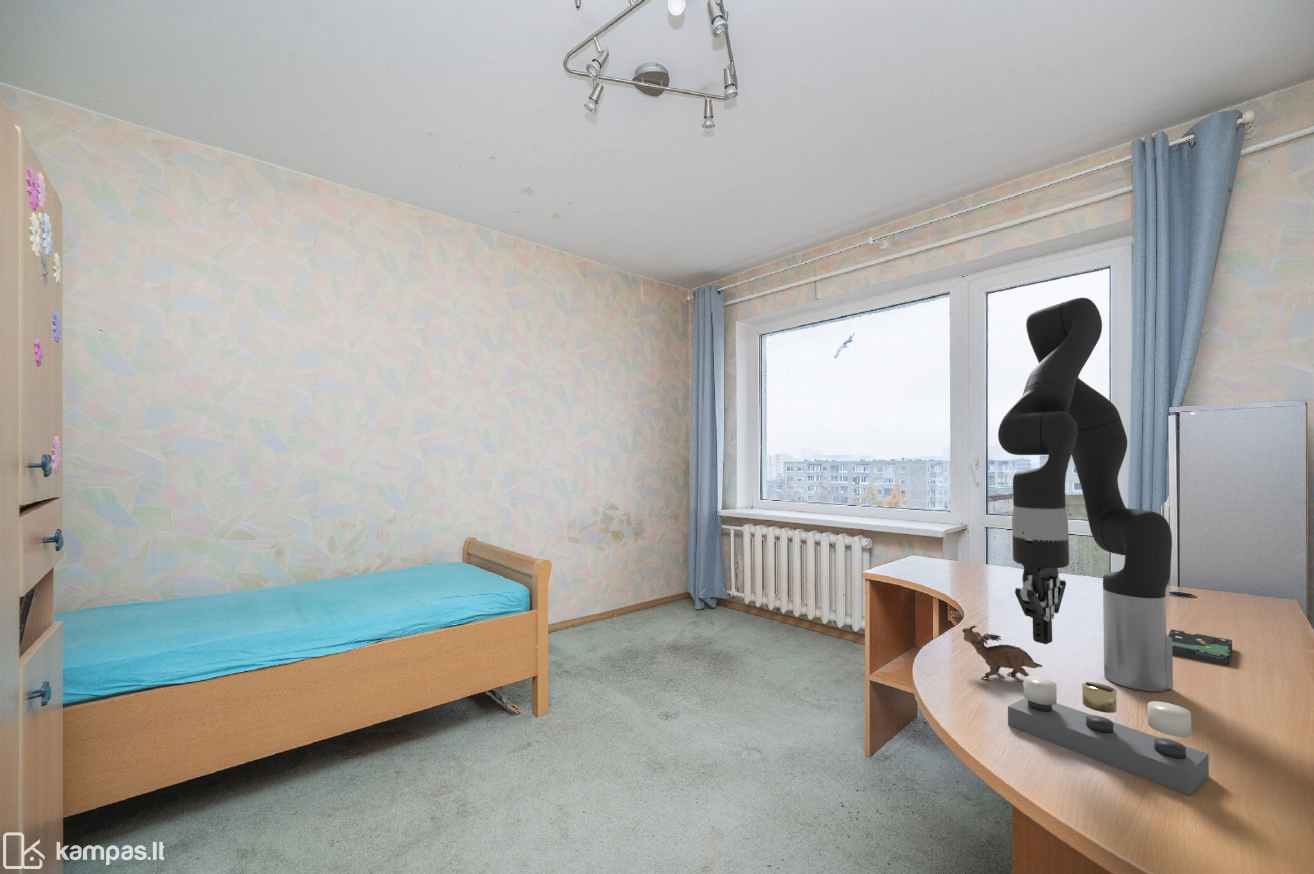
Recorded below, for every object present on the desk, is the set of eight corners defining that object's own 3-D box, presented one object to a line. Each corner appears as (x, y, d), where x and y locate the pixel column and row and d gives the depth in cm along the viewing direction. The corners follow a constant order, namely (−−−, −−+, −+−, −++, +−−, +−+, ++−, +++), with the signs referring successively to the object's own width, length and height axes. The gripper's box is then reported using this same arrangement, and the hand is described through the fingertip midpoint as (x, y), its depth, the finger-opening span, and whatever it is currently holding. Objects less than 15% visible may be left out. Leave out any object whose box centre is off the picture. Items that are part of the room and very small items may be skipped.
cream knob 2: (1195, 731, 76) (1195, 710, 76) (1185, 740, 74) (1185, 719, 74) (1154, 718, 80) (1153, 698, 80) (1143, 726, 78) (1142, 706, 78)
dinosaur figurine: (966, 677, 109) (965, 630, 110) (962, 667, 115) (962, 621, 115) (1049, 689, 104) (1048, 639, 104) (1041, 677, 109) (1040, 630, 110)
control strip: (1208, 776, 76) (1208, 745, 76) (1190, 795, 72) (1189, 762, 72) (1031, 712, 95) (1030, 687, 95) (1008, 724, 90) (1007, 698, 91)
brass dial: (1121, 708, 83) (1120, 687, 83) (1110, 715, 81) (1110, 694, 81) (1088, 698, 86) (1088, 678, 86) (1077, 704, 84) (1077, 684, 84)
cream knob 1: (1061, 700, 90) (1061, 683, 90) (1049, 707, 87) (1048, 689, 87) (1031, 690, 93) (1031, 673, 93) (1018, 696, 91) (1018, 679, 91)
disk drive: (1170, 640, 133) (1164, 655, 123) (1169, 628, 133) (1163, 642, 123) (1232, 652, 125) (1231, 668, 115) (1232, 639, 125) (1231, 655, 115)
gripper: (1032, 528, 97) (1035, 628, 97) (995, 535, 90) (997, 643, 90) (1083, 533, 91) (1086, 640, 91) (1047, 541, 84) (1051, 658, 83)
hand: (1042, 641), depth 90 cm, fingers closed
